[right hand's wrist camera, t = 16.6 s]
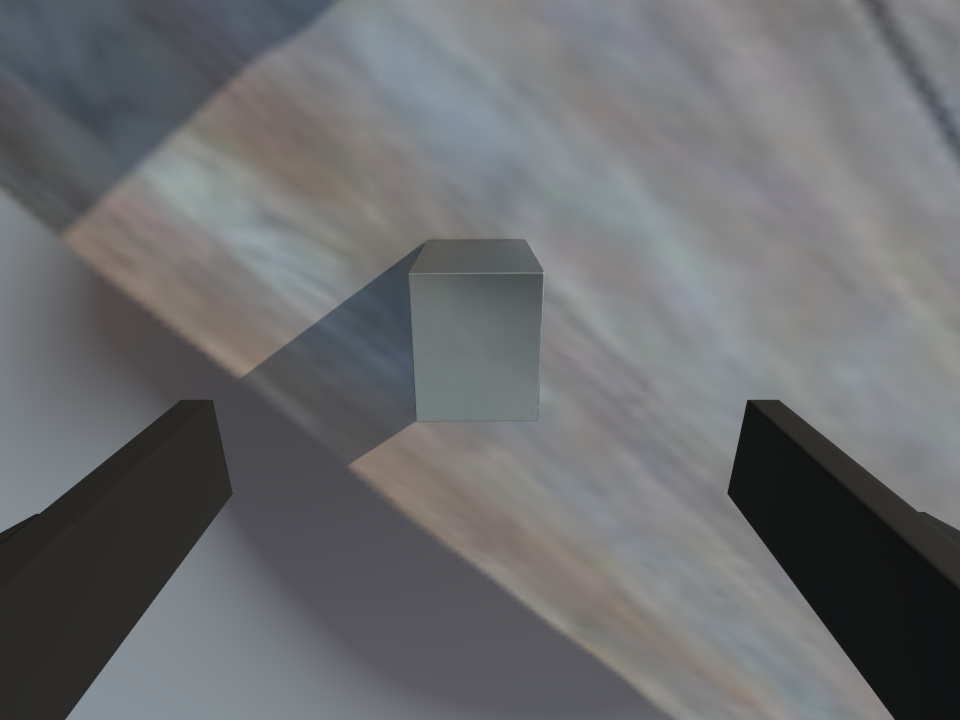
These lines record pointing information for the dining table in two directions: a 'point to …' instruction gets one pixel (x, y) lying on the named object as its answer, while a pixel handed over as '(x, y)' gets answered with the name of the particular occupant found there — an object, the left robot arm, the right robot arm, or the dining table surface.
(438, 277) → the block
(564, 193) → the dining table surface
